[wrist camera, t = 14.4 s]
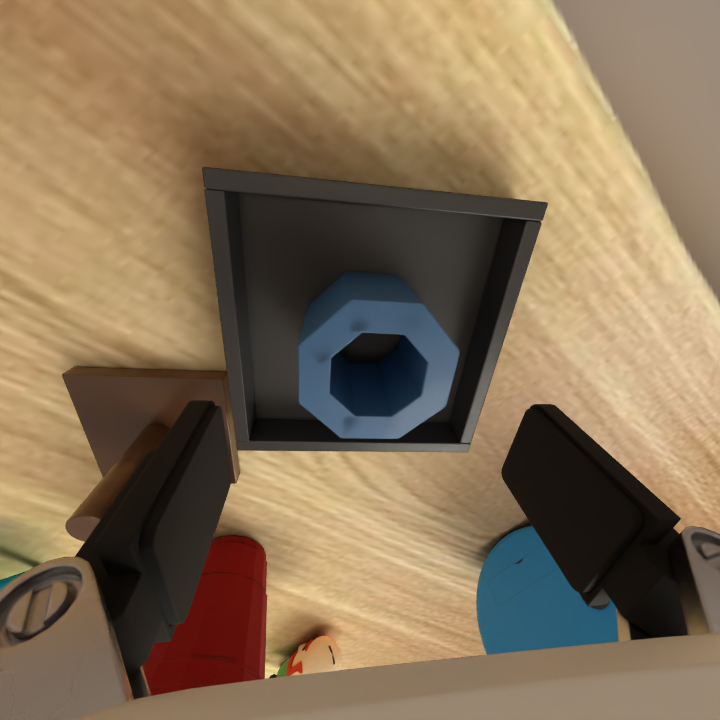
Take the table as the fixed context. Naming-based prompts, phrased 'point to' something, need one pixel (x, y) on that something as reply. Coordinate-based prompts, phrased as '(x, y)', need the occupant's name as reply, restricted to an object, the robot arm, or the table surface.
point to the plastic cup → (218, 624)
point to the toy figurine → (312, 658)
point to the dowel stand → (135, 423)
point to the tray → (368, 255)
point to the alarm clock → (534, 601)
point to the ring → (365, 380)
